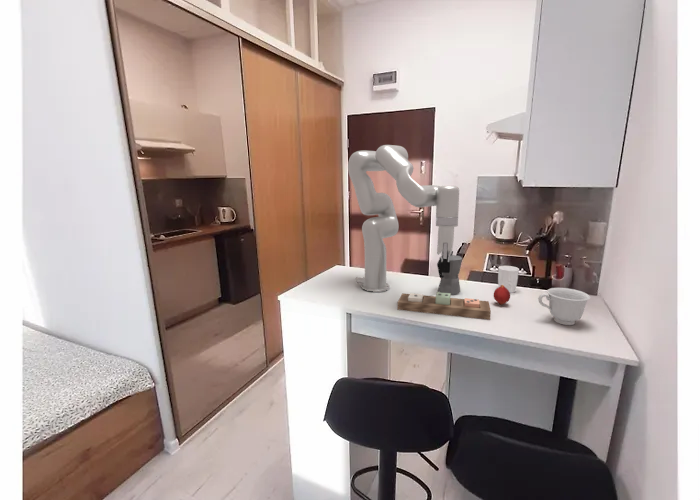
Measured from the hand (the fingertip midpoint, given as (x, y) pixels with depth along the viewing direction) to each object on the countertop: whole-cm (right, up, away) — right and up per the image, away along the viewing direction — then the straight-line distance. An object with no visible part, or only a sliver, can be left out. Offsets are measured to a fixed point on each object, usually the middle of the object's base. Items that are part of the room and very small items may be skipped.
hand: (445, 272), depth 120 cm
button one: (-10, -13, +6) cm, 17 cm away
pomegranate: (+23, -13, +7) cm, 28 cm away
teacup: (+36, -16, -9) cm, 41 cm away
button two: (0, -12, +3) cm, 12 cm away
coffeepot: (+7, -10, +22) cm, 25 cm away
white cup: (+33, -10, +22) cm, 41 cm away
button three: (+9, -14, 0) cm, 17 cm away
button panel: (0, -14, +3) cm, 15 cm away
